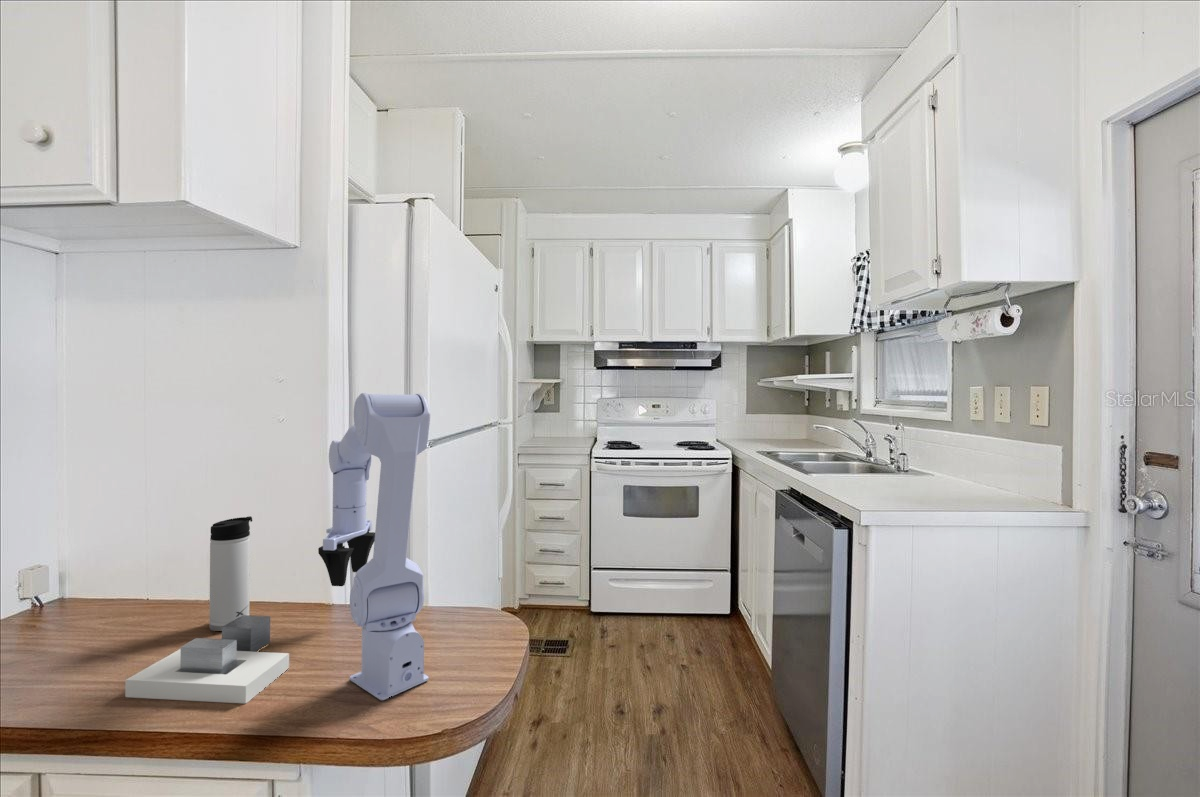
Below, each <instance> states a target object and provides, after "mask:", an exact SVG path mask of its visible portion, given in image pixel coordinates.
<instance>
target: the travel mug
mask: <svg viewBox="0 0 1200 797" xmlns="http://www.w3.org/2000/svg"><path fill="white" fill-rule="evenodd" d="M251 522H253V517H252V516H249V515H248V516H246V517H245V516H244V517H242V516H241V517H233V518H228V519H225V520H220V521H217V522H215V523H213V524H212V525H211V526H210V540H209V621H208V622H209V623H208V624H209V630H210V631H212V632H215V631H222V627H223V626H225V625H226V624H228V623H230V622H232V621H233V620H235V619H237V618H239V617H240V616H242V615H250V596H251V595H250V589H251V588H250V584H251V583H250V581H251V578H250V574H251V567H250V566H251V559H250V558H251V532H250V529H251V528H250V527H251V526H250V523H251Z"/></svg>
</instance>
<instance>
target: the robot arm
mask: <svg viewBox="0 0 1200 797" xmlns="http://www.w3.org/2000/svg"><path fill="white" fill-rule="evenodd" d="M430 422H431V411H430V408H429V403H428V400H427V398H425V395H423V394H422V393H415V394H393V393H391V394H385V393H384V394H383V393H382V394H380V393H378V394H377V393H374V394H372V393H370V394H369V393H366V392H362V393H359V395H358V396H357V397H356V399H355V401H354V406H353V423H354V424H353V425H351V426H350V427H349V428H348V430H347V431H346V432H345V434H344V435H343V437H342V439H341V440H340V441H338V440H331V443H330V445H329V450H328V451H329V452H328V464H329V468H330V471H331V473H332V517H331V518H332V522H331V523H332V525H331V527H329V528H327V529H326V534H327V536H326V537H324V538H323V539H322V546H319V547H318V554H319V556H320V557H321V559H322V560H323V561H322V562H323V563H324V564H325V565H324V566H325V567H326V570H327V574H328V577H329V582H330V584H331V586H332V587H344V586H345V585H346V580H347V574H348V566H349V563H350V567H351V571H352V573H355V575H354V577H353V584H352V587H351V589H350V592H349V610H350V616H351V619H352V621H353V623H354V624H355V625H356V626H357V627H361V663H360V664H361V671H359V672H357V673H355V674H352V675H350V676H349V681H351V682H352V683H354V684H356V685H357V686H359V687H360V688H362V689H363V690H364V691H366V692H368V693H369V694H371V695H372V696H374V697H375V698H377V699H378V700H379V701H385V700H388V699H389V697H390V698H392V697H394V696H396V695H399V694H400V693H402V692H403V693H404V692H405V691H408V690H409V689H411V688H414V687H417V686H418V685H420V684H423V683H425V682H427V681H428V680H430V678H429V676H428V675H427V674H425V672H424V671H425V665H424V664H425V643H424V642H425V641H424V638H423V637H422V635H421V634H420V633H419V632H418V631H417V630H416V629H415V627H414V624H413V622H414V621H416V619H417V618H416V615H417V614H419V613H420V612H421V611H422V608H423V606H424V603H425V589H424V573H423V572H422V569H421V568H420V566H419V565H418V563H416V562H415V561H413V560H411V559H410V558H408V544H409V534H410V524H411V515H412V505H413V504H412V503H413V495H414V486H415V484H414V482H415V475H416V474H415V473H416V465H417V459H418V458H417V457H418V455H419V454H421V453H422V452H424V451H425V450H427V446H428V445H427V444H428V441H429V434H430V424H431V423H430ZM372 456H374V457H377V458H378V459H379V461H380V469H379V470H380V472H379V485H378V487H379V488H378V494H377V496H378V497H377V509H376V518H375V531H374V532H373V531H372V530H373V520H368V519H367V484H368V483H367V481H368V480H369V479H370V470H371V466H372ZM371 531H372V532H371ZM345 543H347V546H348V547H345V545H344V544H345ZM372 547H373V555H372V558H371V559H370V560H369V556H370V553H371V549H372ZM368 560H369V561H368ZM391 696H392V697H391Z"/></svg>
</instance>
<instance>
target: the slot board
mask: <svg viewBox="0 0 1200 797" xmlns="http://www.w3.org/2000/svg"><path fill="white" fill-rule="evenodd" d="M180 662H181V648H179V649H178V650H176V651H174V652H173V653H171V654H168V655H167V656H165V657H163V658H162V659H160V660H158V661H156V662H154V663H153V664H151V665H149V666H147V667H145V668H144V669H142V670H140V671H139V672H137V673H135V674H133V675H131V676H130V677H128V678H126V679H125V684H124V685H125V689H124V690H125V693H124V695H125V698H135V699H153V700H173V701H190V702H191V701H192V702H212V703H225V704H226V703H228V704H229V703H231V704H247V703H249V701H251V700H252V699H253V698H254V697H256V696H257V695H259V692H260V693H261V692H262V691H263V690H265V689H266V688H267V687H269V686H270V685H271V684H272V683H274V682H275V681H276V680H277V679H278V678H279V676H280V675H281V674H282V673H283V674H285V673H286V672H287V671H288V670H289V669H290V652H289V653H287V652H272V651H271V652H269V651H267V652H266V651H265V652H264V651H260V652H250V651H237V659H236V668H235V669H234V670H232V671H231V672H229V673H228V674H208V673H188V672H180ZM288 668H289V669H288ZM287 669H288V670H287ZM286 670H287V671H286ZM285 671H286V672H285ZM284 672H285V673H284ZM283 674H282V675H283ZM282 675H281V676H282ZM281 676H280V677H281ZM277 677H278V678H277ZM275 679H276V680H275ZM274 680H275V681H274ZM270 683H271V684H270ZM269 684H270V685H269ZM265 687H266V688H265ZM264 688H265V689H264Z"/></svg>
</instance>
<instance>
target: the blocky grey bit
mask: <svg viewBox="0 0 1200 797" xmlns="http://www.w3.org/2000/svg"><path fill="white" fill-rule="evenodd" d="M180 649H181V662H180V672H188V673H208V674H228V673H229V672H231V671H232V670H234V669H235V668H236V659H237V640H229V639H222V638H200V637H196V638H194V639H192V640H190V641H188V642H186V643H185V644H182V645H181V646H180Z"/></svg>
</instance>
